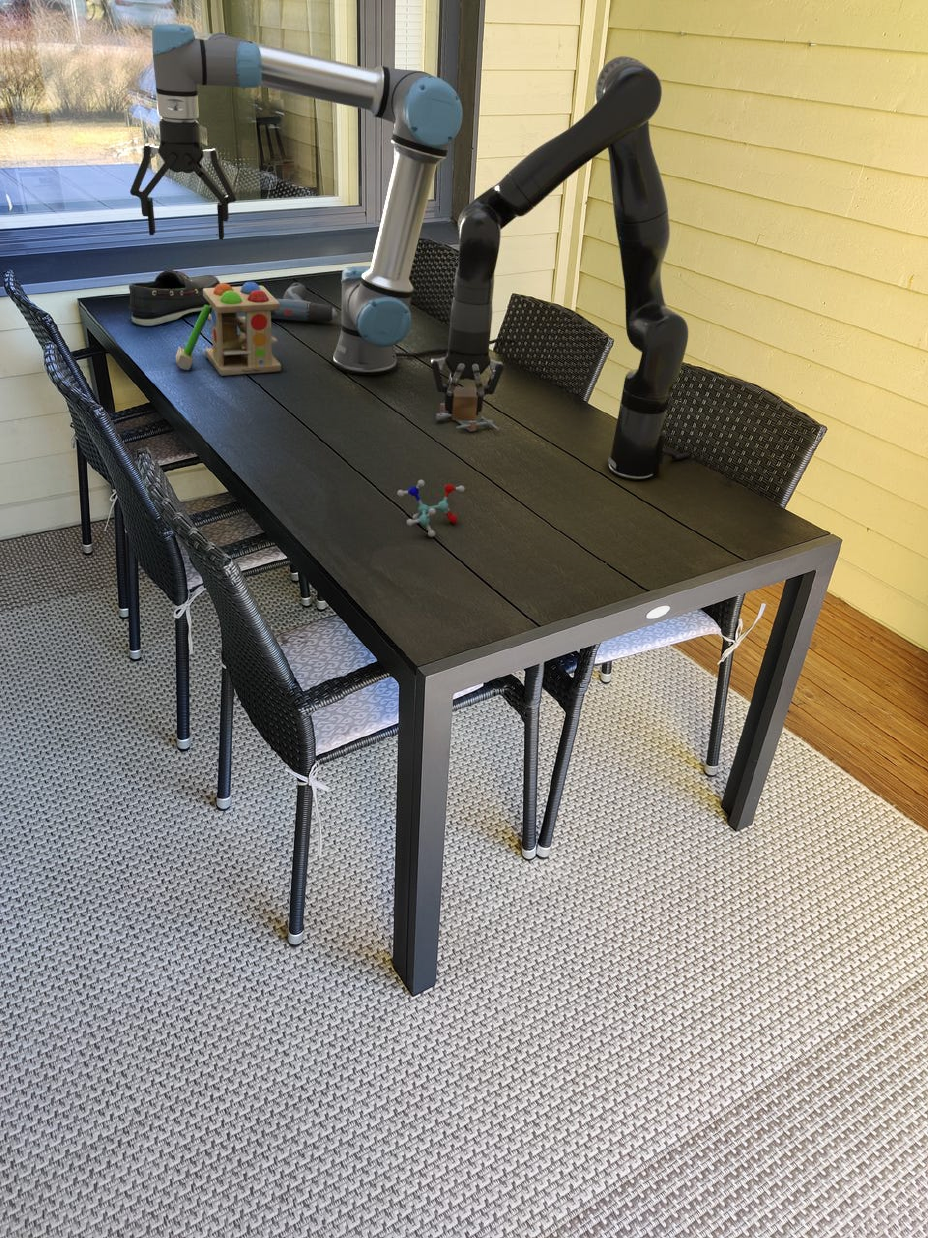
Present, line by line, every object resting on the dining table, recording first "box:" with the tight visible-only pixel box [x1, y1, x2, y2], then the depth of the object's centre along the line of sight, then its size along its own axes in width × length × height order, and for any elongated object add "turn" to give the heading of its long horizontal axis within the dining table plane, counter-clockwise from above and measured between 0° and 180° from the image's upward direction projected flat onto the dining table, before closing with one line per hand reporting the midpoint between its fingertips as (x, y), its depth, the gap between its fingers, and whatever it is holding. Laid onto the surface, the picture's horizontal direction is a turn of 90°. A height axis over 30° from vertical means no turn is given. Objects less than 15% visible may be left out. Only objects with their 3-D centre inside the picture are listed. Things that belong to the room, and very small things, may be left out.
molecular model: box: [397, 479, 466, 538], centre depth 173 cm, size 12×10×10 cm
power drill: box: [271, 282, 338, 322], centre depth 265 cm, size 5×19×20 cm
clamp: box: [435, 402, 502, 433], centre depth 212 cm, size 15×2×10 cm
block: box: [451, 386, 478, 421], centre depth 186 cm, size 4×5×5 cm
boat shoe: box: [128, 268, 221, 327], centre depth 258 cm, size 13×33×10 cm, turn 147°
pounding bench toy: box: [174, 281, 282, 377], centre depth 225 cm, size 23×14×18 cm, turn 116°
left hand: (187, 235), depth 198 cm, fingers open, 13 cm apart
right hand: (462, 412), depth 187 cm, fingers closed on block, 4 cm apart
